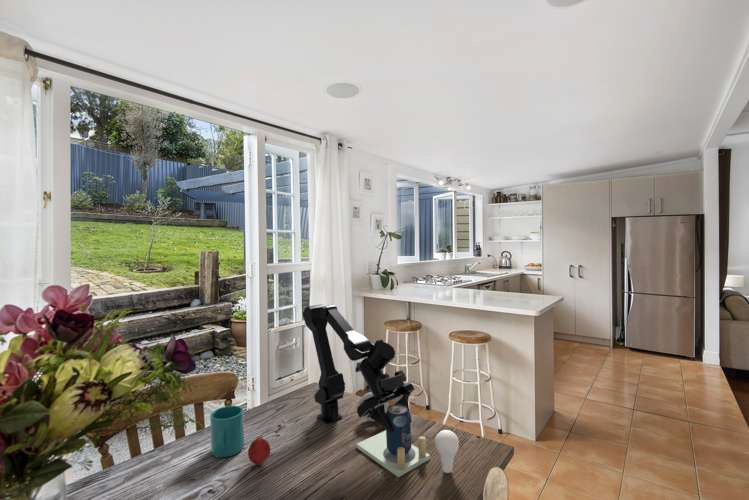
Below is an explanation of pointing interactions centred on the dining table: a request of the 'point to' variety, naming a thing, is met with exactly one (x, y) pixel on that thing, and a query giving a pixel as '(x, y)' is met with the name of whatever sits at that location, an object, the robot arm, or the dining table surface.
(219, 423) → the cup
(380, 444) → the board
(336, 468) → the dining table surface
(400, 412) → the soda can
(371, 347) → the robot arm
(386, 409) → the donut
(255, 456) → the onion
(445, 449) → the lightbulb
